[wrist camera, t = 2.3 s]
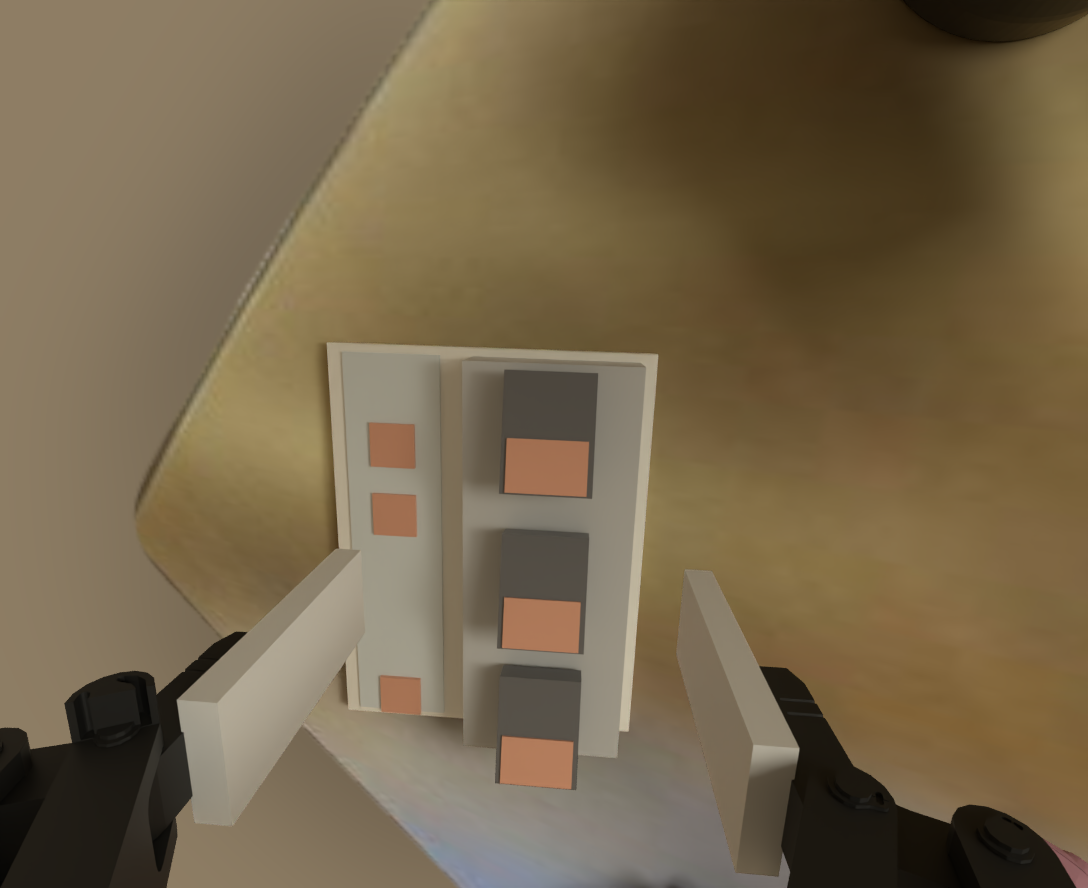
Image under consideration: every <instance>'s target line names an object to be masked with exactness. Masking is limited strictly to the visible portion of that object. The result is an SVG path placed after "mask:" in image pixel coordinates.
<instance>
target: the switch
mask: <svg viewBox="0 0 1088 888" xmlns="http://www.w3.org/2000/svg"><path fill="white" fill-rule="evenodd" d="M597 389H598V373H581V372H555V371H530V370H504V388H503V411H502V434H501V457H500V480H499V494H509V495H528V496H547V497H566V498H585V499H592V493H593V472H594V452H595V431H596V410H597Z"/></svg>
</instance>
